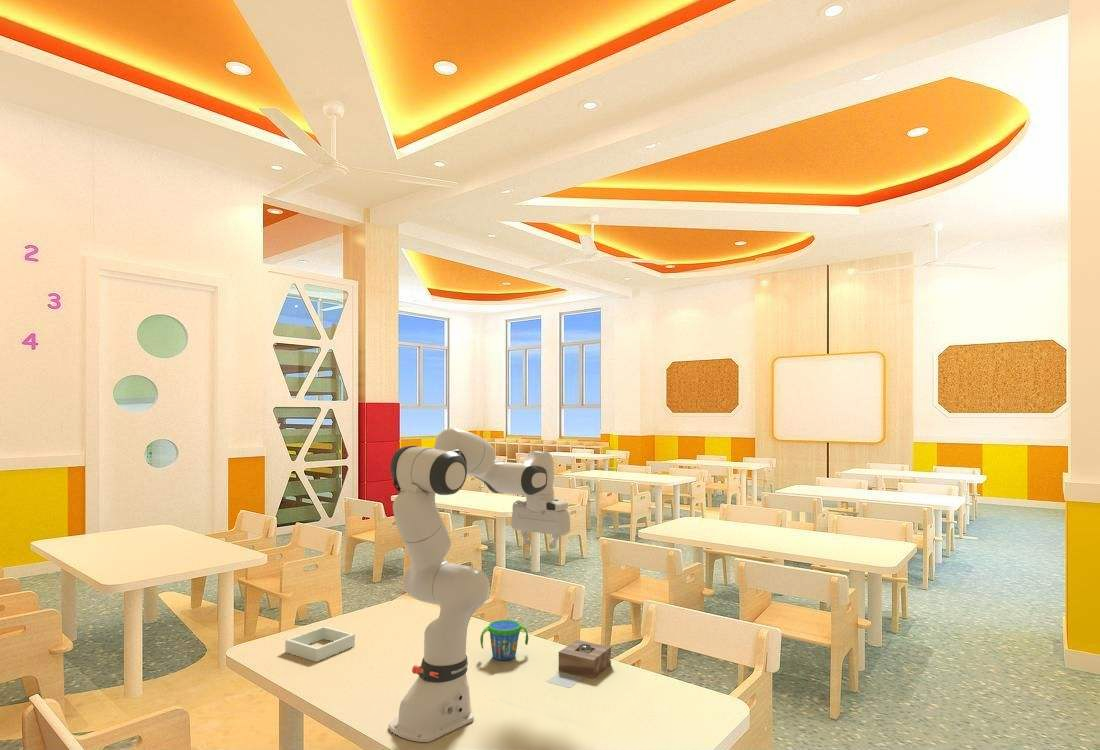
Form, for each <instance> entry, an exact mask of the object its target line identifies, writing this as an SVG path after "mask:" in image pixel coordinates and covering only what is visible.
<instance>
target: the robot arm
mask: <svg viewBox="0 0 1100 750" xmlns="http://www.w3.org/2000/svg"><path fill="white" fill-rule="evenodd" d="M554 469H555V467H554V458H553V456H552V454H551V453H549V452H546V451H540V450H532V451H529V452H528V454H527V458H526V459H525V460H523V461H522V462H509V461H500V460H496V451H495V447H494V446H493V445H492V444H491V443H490V441H488V440H487V439H486V438H483V437H482V436H480V435H477V434H475V433H473V432H470V431H467V430H464V429H461V428H456V427H449V428H445V429H444V430H442V431H441V432H440V433H439V434H438V436H436V439H435V442H434V446H433V447H426V446H417V445H408V446H407V445H406V446H402V447H400V448H399V449H397V450H396V451H395V452H394V454H393V455H392V457H391V461H390V475H391V478H392V484H393V488H395V490H397V492H399V494H397V496H396V497H395V498H394V500H393V503H392V512H393V516H394V521H395V524H396V527H397V528H396V529H397V530H398V532H399V535H400V537H401V541H402V542H403V544H404V547H405V549H406V552H407V553H408V557H409V559H410V564H409V565H408V567H407V569H406V570H405V572H404V575H403V579H402V580H403V582H402V583H403V589H404V591H405V593H406V594H407V595H408V596H410V597H412V598H414V599H416V600H417V601H420V602H423V603H427V604H432V605H438V606H439V608H440V610H439V615H438V617H437V618H435V619H433V620H432V621H430V622H429V623H428V625H427V626H426V627H425V629H424V632H423V635H424V637H423V638H424V639H423V657H422V660H421V664H420V666H419V665H418V664H414V665H413V666H412V669H411V673H412V674H416V675H418V677H417V679H416V680H415V681H414V682H413V684H412V685H411V687H410V688H409V689H408V691H407V692H406V694H405V695H404V697H403V698H402V700H401V701H400V703H399V708H398V715H397V716H396V717H395V718H394V719H392V720H391V721H390V722H389V723H388V729H390V730H389V731H390V732H391V733H392V732H393V733H392V734H393V735H395V734H396V736H397V735H398V737H400V738H402V739H406V740H409V741H412V742H417V743H418V742H419V743H429V742H432V741H434V740H436V739H438V738H441V737H442V736H445V735H447V734H449V733H451V732H453V731H455V730H457V729H459V728H461V727H464V726H465V725H467V724H470V723H472V722H473V721H474V720H475V719H474V718H475V717H474V713H473V712H472V706H471V697H470V686H469V682H468V676H467V672H468V665H469V661H468V656H467V655H468V654H467V637H468V636H467V635H468V626H469V623H470V620H471V619H472V616H473V614H475V612H476V611H477V610H478V609H479V608H481V607H482V606H483V605H484V604H485V603H486V601H487V599H488V597H489V594H490V588H491V587H490V586H491V584H490V580H489V578H488V576H487V574H486V573H485V571H482V570H480V569H478V568H476V567H474V566H470V565H466V564H465V565H464V564H459V563H452V562H449V561H448V560H446V559H445V558H446V557H447V555H448V554H449V553H450V549H451V546H452V545H451V544H452V540H451V537H450V535H449V533H448V529H447V528H446V524H445V523H444V520H443V518H442V516H441V513H440V511H439V509H438V507H437V505H436V494H437V495H438V496H439V495H440V496H450V495H453V494H456V493H458V492H459V491H460V490H461V489H462V487H463V486H464V484H465V482H466V480H467V476H469V477H473V478H476V479H478V480H480V481H482V482H483V483H484V485H485V486H486V487H487V488H488V490H489V491H490V492H492V493H493V494H507V495H518V496H525V500H515V501H514V502H513V504H512V514H511V521H510V522H511V523H510V527H511V528H512V530H515V531H520V535H521V537H522V539H523V545H524V546H530V545H531V544H532V543H531V542H532V539H531V538H529V536H528V533H529V532H532V533H538V534H548V535H552V537H551V538H553V539H552V541H551V542H549V543H548V544H549V547H548V548H549V549H553V550H555V549H556V548H557V542H558V540H559V539H560V536H567V535H568V534H570V532H571V517H570V514H569V511H568V510H567V509H568V508H569V503H568V502H567V501H566V500H563V499H561V498H559V497H557V496H555V491H554V487H553V485H554V480H555V470H554Z"/></svg>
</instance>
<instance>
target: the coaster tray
mask: <svg viewBox="0 0 1100 750" xmlns="http://www.w3.org/2000/svg"><path fill="white" fill-rule="evenodd" d="M355 637H356V634H354V633H351V632H347V631H345V630H344V631H343V630H340V629H336V628H333V627H330V626H325V625H324V626H320V627H317V628H315V629H312V630H310V631H306V632H304V633H301V634H298V635H295V636H292V637H289V638H287V639H285V640H284V641H285V642H284V643H285V644H284V646H285V647H284V649H285V650H284V653H287V654H289V653H290V655H293V656H295V655H296V656H295V657H298V656H299V658H301V659H302V658H303V659H305V658H306V660H308V659H309V661H311V660H312V661H311V662H314V661H316V662H315V663H317V661H318V662H320V660H321V661H323V660H326V659H328V658H330V657H332V655H333V656H335V655H337V654H340V653H342V652H344V650H345V651H347V650H349V649H348V648H350V649H352V648H355V645H356V642H355V639H356V638H355ZM325 639H326V641H328V640H330V642H328V643H326V644H323V645H320V646H318V647H316V646H313V645H312V644H314V643H317V642H320V641H322V640H325ZM332 641H333V642H332ZM311 643H312V644H311ZM351 647H352V648H351ZM346 649H347V650H346ZM341 651H342V652H341ZM339 652H340V653H339ZM334 654H335V655H334ZM329 656H330V657H329ZM327 657H328V658H327ZM322 659H323V660H322Z"/></svg>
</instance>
